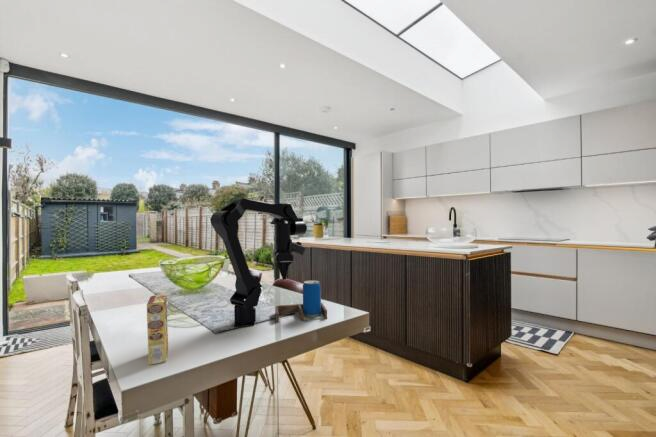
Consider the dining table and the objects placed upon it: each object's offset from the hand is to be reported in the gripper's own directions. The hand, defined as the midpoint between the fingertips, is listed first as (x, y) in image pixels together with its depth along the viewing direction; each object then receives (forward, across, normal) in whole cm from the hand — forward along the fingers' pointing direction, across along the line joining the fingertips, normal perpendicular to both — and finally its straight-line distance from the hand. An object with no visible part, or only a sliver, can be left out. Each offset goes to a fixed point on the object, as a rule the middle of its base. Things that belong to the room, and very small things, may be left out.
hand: (283, 277), depth 124 cm
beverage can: (+13, -8, -10) cm, 18 cm away
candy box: (+13, -33, +35) cm, 50 cm away
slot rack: (+13, -8, -6) cm, 16 cm away
